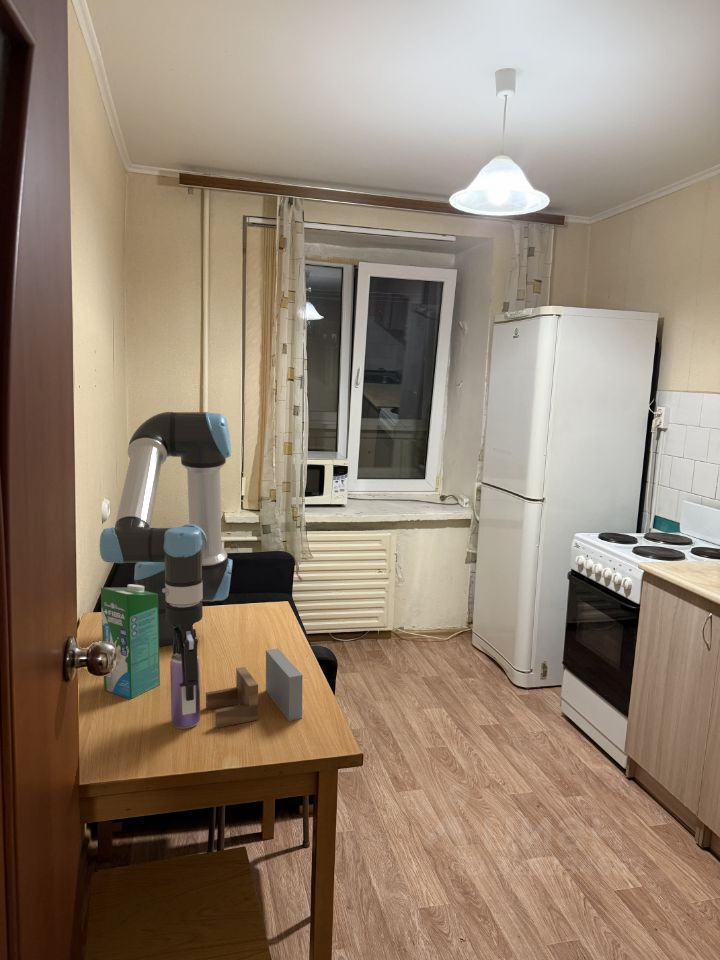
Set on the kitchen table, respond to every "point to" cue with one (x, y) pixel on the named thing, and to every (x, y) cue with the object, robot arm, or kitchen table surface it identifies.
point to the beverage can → (176, 696)
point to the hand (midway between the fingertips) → (185, 705)
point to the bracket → (235, 700)
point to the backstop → (284, 684)
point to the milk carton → (131, 639)
